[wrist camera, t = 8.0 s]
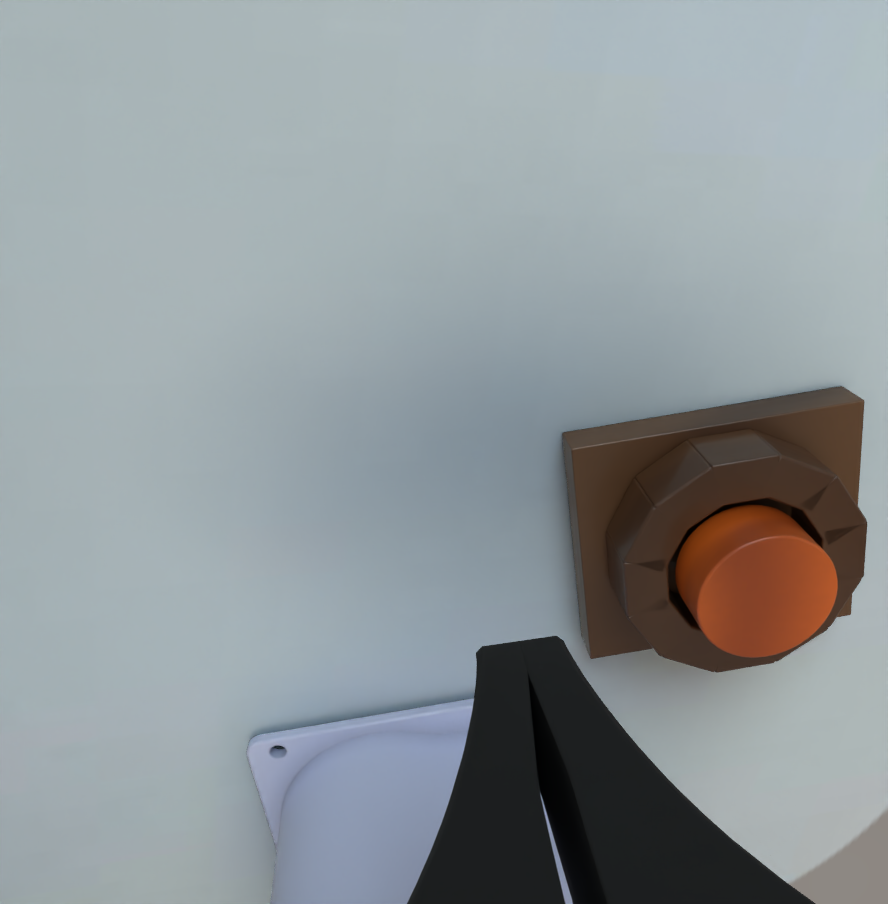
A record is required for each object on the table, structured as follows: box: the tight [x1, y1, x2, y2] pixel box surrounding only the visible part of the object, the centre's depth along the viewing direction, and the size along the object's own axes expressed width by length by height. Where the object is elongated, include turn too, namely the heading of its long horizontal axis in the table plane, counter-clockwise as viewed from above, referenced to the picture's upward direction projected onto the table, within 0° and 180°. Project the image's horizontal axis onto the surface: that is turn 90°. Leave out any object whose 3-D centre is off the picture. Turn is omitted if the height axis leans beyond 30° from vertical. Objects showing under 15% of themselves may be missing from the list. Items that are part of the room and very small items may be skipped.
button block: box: [562, 386, 867, 672], centre depth 23 cm, size 8×7×3 cm
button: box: [675, 505, 838, 658], centre depth 22 cm, size 4×4×2 cm
